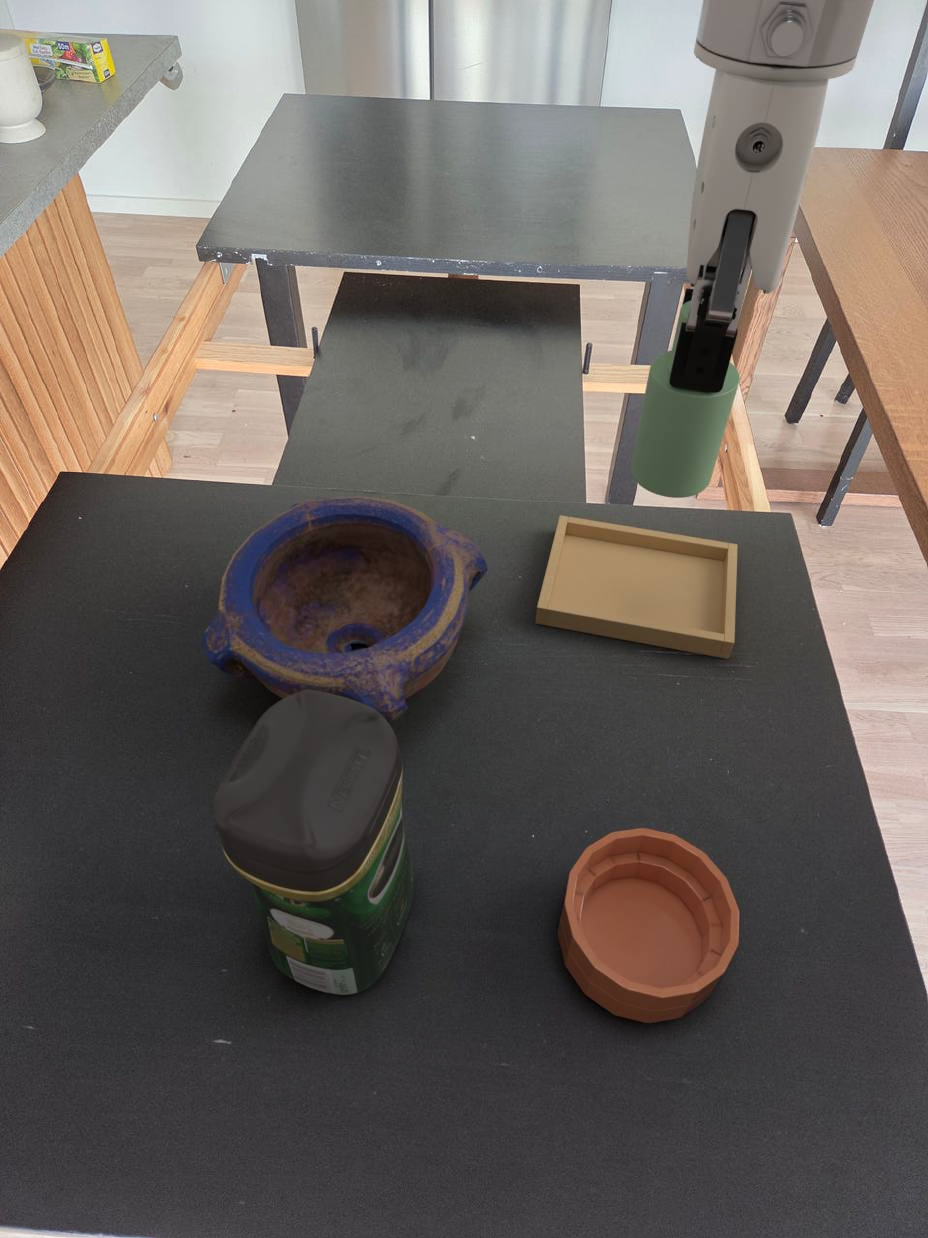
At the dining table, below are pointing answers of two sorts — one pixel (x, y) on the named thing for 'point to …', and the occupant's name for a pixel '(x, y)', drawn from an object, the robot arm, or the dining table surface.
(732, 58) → the robot arm
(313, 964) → the coffee jar
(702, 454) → the bottle
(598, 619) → the tray
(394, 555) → the bowl
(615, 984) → the clay bowl
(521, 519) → the dining table surface
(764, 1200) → the dining table surface
